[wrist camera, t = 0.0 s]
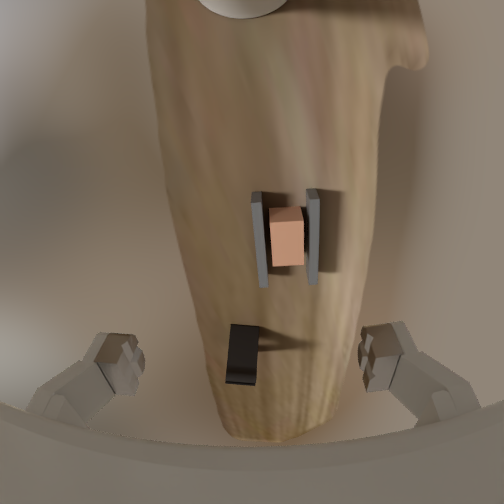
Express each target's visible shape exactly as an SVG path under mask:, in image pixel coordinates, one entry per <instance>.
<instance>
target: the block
mask: <svg viewBox="0 0 504 504" xmlns="http://www.w3.org/2000/svg"><path fill="white" fill-rule="evenodd" d="M269 217H270V233H271V247H272V261H273V266H289V265H304V220H303V216H302V212H301V207H300V206H296V207H279V208H269Z"/></svg>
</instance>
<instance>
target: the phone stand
mask: <svg viewBox="0 0 504 504" xmlns="http://www.w3.org/2000/svg"><path fill="white" fill-rule="evenodd" d="M258 337H259V327H255V326H244V325H233V324H231V329H230V339H229V349H228V360H227V370H226V382H225V383H226V384H237V385H250V386H255V383H256V376H257V355H258Z"/></svg>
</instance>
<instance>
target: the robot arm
mask: <svg viewBox="0 0 504 504" xmlns="http://www.w3.org/2000/svg"><path fill="white" fill-rule="evenodd" d="M199 1H200V2H201V3H202V4H203V5H204V6H205V7H207V8H208V9H210V10H211V11H213V12H215V13H217V14H220V15H222V16H226V17H231V18H241V19H242V18H254V17H259V16H262V15H265V14H268V13H270V12H272V11H274V10H276V9H278V8H279V7H280V6H282V5H283V4H284V3H285V2H286V1H287V0H199ZM361 337H362V341H361V342H360V343H359V346H358V362H359V366H360V369H361V370H362V371H364V374H363V382H364V385H365V389H366V392H374V391H382V390H389V391H390V392H391V393H392V394H393V395H394V396H395V397H396V398H397V399H398V400H399V401H400V402H401V403H402V404H403V405H404V406H405V407H406V408H407V409H408V410H409V411H410V412H412V414H413V415H415V416H416V417H417V418H418V419H419V420H418V421H417V423H416V425H415V426H414V428H412V429H407V430H402V431H398V432H393V433H388V434H383V435H378V436H372V437H366V438H359V439H352V440H345V441H337V442H328V443H318V444H307V445H292V446H271V447H270V446H267V447H231V446H230V447H229V446H207V445H206V446H205V445H192V444H180V443H170V442H161V441H154V440H147V439H140V438H133V437H127V436H122V435H116V434H111V433H106V432H101V431H96V430H92V429H90V428H89V427H88V426H87V424H86V423H87V422H88V421H90V419H92V418H93V417H94V416H95V414H96V413H98V412H99V411H100V410H101V409H102V408H103V407H104V406H105V405H106V404H107V403H108V402H109V401H110V400H111V399H112V398H113V397H114V396H115V394H118V395H129V396H135V394H136V391H137V388H138V385H139V381H138V377H139V376H141V375H142V374H143V371H144V368H145V358H144V354H143V351H142V350H141V349H140V348H138V347H137V344H138V340H137V338H136V336H135V335H133V334H120V333H103V332H100V333H98V334H97V335H96V337H95V338H94V340H93V342H92V344H91V345H90V347H89V349H88V351H87V352H86V354H85V356H84V358H83V360H82V361H80V360H79V361H77V362H76V363H74V364H73V365H71V366H70V367H68V368H67V369H66V370H64V371H63V372H61V373H60V374H58V375H57V376H55V377H54V378H52V379H51V380H50V381H48V382H46V383H45V384H43V385H42V386H41V387H39V388H37V390H36V392H35V394H34V395H33V397H32V399H31V401H30V403H29V405H28V406H27V408H26V410H22V409H19V408H16V407H13V406H11V405H8V404H6V403H3V402H0V504H504V400H502V401H499V402H497V403H494V404H492V405H489V406H486V407H483V408H481V406H480V404H479V402H478V399H477V397H476V395H475V393H474V391H473V389H472V387H471V385H470V383H469V382H468V381H466V380H465V379H463V378H462V377H460V376H459V375H457V374H456V373H454V372H453V371H451V370H450V369H448V368H447V367H445V366H444V365H442V364H441V363H439V362H438V361H436V360H434V359H433V358H431V357H430V356H428V355H427V354H425V353H424V352H418V350H417V347H416V345H415V343H414V341H413V339H412V337H411V335H410V333H409V331H408V329H407V327H406V325H405V323H404V322H403V321H398V322H392V323H385V324H377V325H369V326H363V327H362V330H361Z"/></svg>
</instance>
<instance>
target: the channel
mask: <svg viewBox="0 0 504 504" xmlns="http://www.w3.org/2000/svg"><path fill="white" fill-rule="evenodd" d="M251 208H252V217H253V227H254V237H255V247H256V256H257V266H258V276H259V286H260V288H263V287H268V265H267V252H266V240H265V227H264V215H263V203H262V192H252V197H251ZM306 209H307V265H306V271H307V277H308V283H309V285H313V284H317V282H318V258H319V217H320V199H319V196H318V193H317V191H316V189H306Z"/></svg>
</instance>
